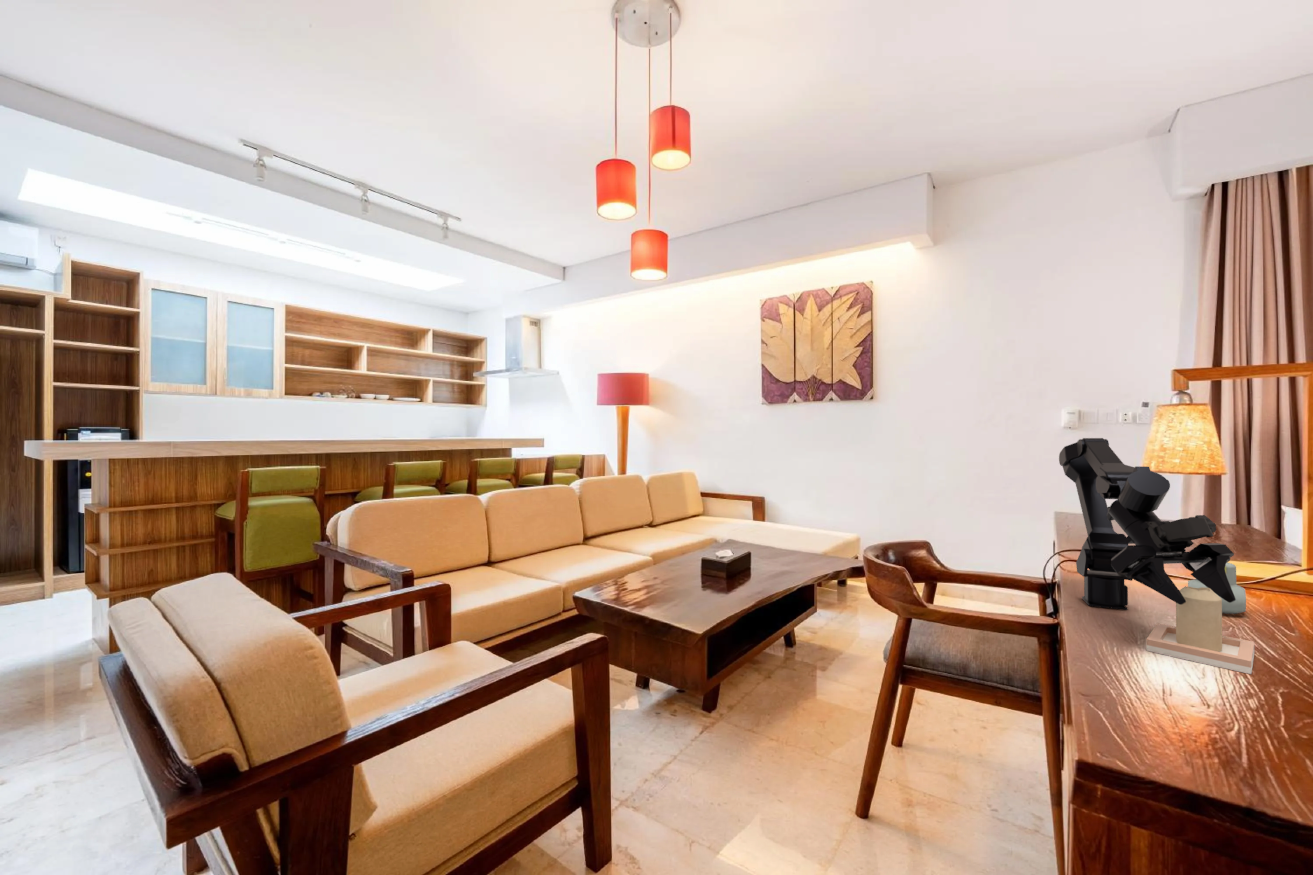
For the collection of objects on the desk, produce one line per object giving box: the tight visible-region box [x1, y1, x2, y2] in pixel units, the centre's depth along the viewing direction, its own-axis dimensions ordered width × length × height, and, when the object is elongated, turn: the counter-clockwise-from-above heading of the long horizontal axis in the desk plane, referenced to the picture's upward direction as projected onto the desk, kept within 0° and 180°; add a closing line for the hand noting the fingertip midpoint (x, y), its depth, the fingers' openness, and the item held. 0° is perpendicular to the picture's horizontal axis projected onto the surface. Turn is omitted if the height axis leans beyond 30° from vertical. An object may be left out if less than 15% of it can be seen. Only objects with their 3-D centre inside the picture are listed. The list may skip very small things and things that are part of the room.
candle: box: [1175, 585, 1223, 652], centre depth 91 cm, size 6×6×10 cm
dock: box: [1145, 622, 1255, 675], centre depth 90 cm, size 12×12×2 cm
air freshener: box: [1187, 562, 1247, 615], centre depth 112 cm, size 11×8×10 cm
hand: (1208, 602), depth 89 cm, fingers open, 9 cm apart
